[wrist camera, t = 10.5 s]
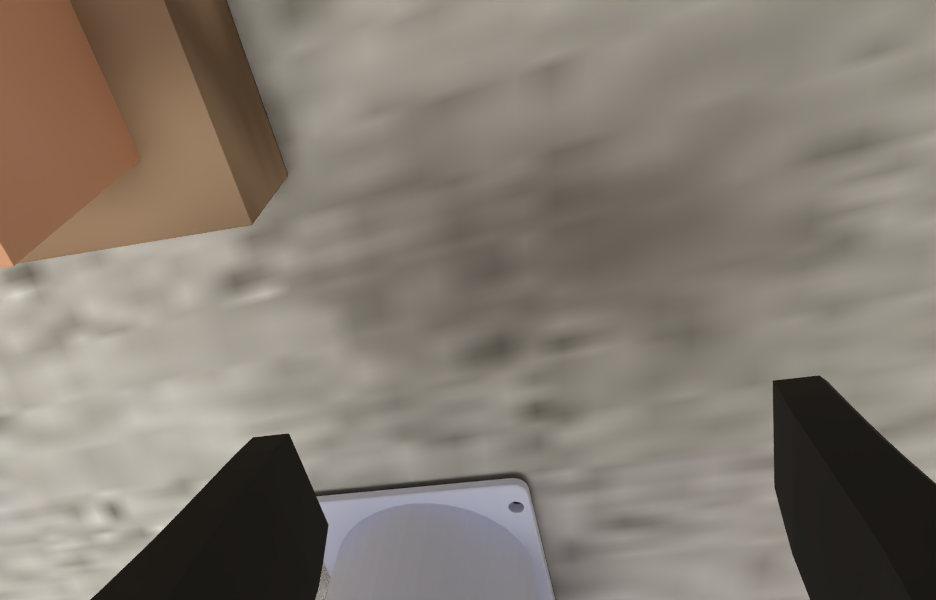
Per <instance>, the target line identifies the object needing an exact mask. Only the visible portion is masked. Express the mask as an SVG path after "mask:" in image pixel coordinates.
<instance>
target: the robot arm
mask: <svg viewBox="0 0 936 600" xmlns="http://www.w3.org/2000/svg"><path fill="white" fill-rule="evenodd" d="M773 419H774V482H775V491H776V494H777V498H778V502H779V506H780V510H781V514H782V517H783V521H784V525H785V529H786V532H787V536H788V539H789V543H790V547H791V550H792V554H793V557H794V559H795V562H796V564H797V567H798V570H799V572H800V575H801V577H802V580H803V582H804V585H805V587H806V590H807V592H808V595H809V597H810V600H936V483H934V482H933V481H932V480H931V479H930V478H929V477H928V476H926V475H925V474H924V473H923V472H922V471H921V470H920V469H918V468H917V467H916V466H915V465H914V464H913V463H912V462H910V461H909V460H908V459H907V458H906V457H905V456H904V455H903V454H901V453H900V452H899V451H898V450H897V449H896V448H895V447H894V446H893V445H892V444H891V443H889V442H888V441H887V440H886V439H885V438H884V437H883V436H882V435H881V434H880V433H879V432H878V431H877V430H876V429H875V428H874V427H873V426H872V425H870V424H869V423H868V422H867V421H866V420H865V419H864V418H863V417H862V416H861V415H860V414H859V413H858V412H857V411H856V410H855V409H854V408H853V407H852V406H851V405H850V404H849V403H848V402H847V401H846V400H845V399H844V398H843V397H842V396H841V395H840V394H839V393H838V392H837V391H836V390H835V389H834V388H833V387H832V386H831V385H830V384H829V383H828V382H827V381H826V380H825V379H823V378H822V377H821V376H812V377H803V378H794V379H784V380H775V381H773ZM512 502H520V504H513V503H512ZM323 562H324V565H325V567H326V569H327V571H328V573H329V576H330V578H331V580H330V584H329V587H328V591H327V594H326V598H325V600H555V596H554V592H553V588H552V584H551V580H550V575H549V571H548V567H547V563H546V559H545V554H544V550H543V546H542V542H541V537H540V533H539V529H538V525H537V521H536V516H535V512H534V508H533V504H532V500H531V495H530V491H529V487H528V485H527V484H526V483H525V482H524V481H523V480H520V479H517V478H507V479H496V480H486V481H475V482H464V483H454V484H443V485H433V486H422V487H411V488H401V489H390V490H379V491H369V492H358V493H348V494H337V495H326V496H316V495H315V492H314V490H313V488H312V485H311V483H310V481H309V479H308V476H307V474H306V472H305V469H304V467H303V465H302V462H301V460H300V458H299V456H298V453H297V451H296V449H295V446H294V444H293V442H292V439H291V437H290V435H289V434H280V435H271V436H262V437H253V438H252V439H251V440H250V441H249V442H248V443H247V444H246V445H245V446H243V447H242V448H241V449H240V450H239V451H238V452H237V453H236V454H235V455H234V456H233V457H232V458H231V460H230V461H229V462H228V463H227V464H226V465H225V466H224V467H223V468H222V469H221V470H220V471H219V472H218V473H217V474H216V475H215V476H214V477H213V478H212V479H211V480H210V481H209V482H208V484H207V485H206V486H205V487H204V488H203V489H202V490H201V491H200V492H199V493H198V494H197V495H196V496H195V497H194V498H193V499H192V500H191V501H190V502H189V503H188V504H187V505H186V506H185V508H184V509H183V510H182V511H181V512H180V513H179V514H178V515H177V516H176V517H175V518H174V519H173V520H172V521H171V522H170V523H169V524H168V525H167V526H166V527H165V528H164V529H163V530H162V531H161V532H160V533H159V534H158V535H157V536H156V537H155V538H154V539H153V540H152V541H151V542H150V543H149V544H148V545H147V546H146V547H145V548H144V549H143V550H142V551H141V552H140V553H139V554H138V555H137V556H136V557H135V558H134V559H133V560H132V561H131V562H130V563H129V564H128V565H126V566H125V567H124V568H123V569H122V570H121V571H120V572H119V573H118V574H117V575H116V576H115V577H114V578H113V579H112V580H111V581H110V582H109V583H108V584H107V585H106V586H105V587H104V588H103V589H101V590H100V591H99V592H98V593H97V594H96V595H95V596H94V597H93V598H92V599H91V600H315V598H316V594H317V591H318V587H319V582H320V576H321V571H322V565H323Z"/></svg>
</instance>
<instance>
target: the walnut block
mask: <svg viewBox="0 0 936 600" xmlns="http://www.w3.org/2000/svg"><path fill="white" fill-rule="evenodd" d="M70 2H71V4H72V7H73V9H74V11H75V13H76V16H77V18H78V20H79V22H80V24H81V27H82V29H83V31H84V33H85V36H86V38H87V40H88V42H89V45H90V47H91V49H92V51H93V53H94V56H95V58H96V60H97V62H98V65H99V67H100V69H101V71H102V74H103V76H104V78H105V80H106V82H107V85H108V87H109V89H110V91H111V94H112V96H113V98H114V100H115V103H116V105H117V107H118V109H119V111H120V114H121V116H122V118H123V120H124V123H125V125H126V127H127V129H128V131H129V134H130V136H131V138H132V140H133V143H134V145H135V147H136V149H137V152H138V154H139V156H140V158H141V160H139V161H138V162H137V163H136V164H135V165H133V166H132V167H131V168H130V169H129V170H128V171H126V172H125V173H124V174H123V175H122V176H120V177H119V178H118V179H117V180H116V181H114V182H113V183H112V184H111V185H110V186H108V187H107V188H106V189H105V190H104V191H103V192H101V193H100V194H99V195H98V196H97V197H95V198H94V199H93V200H92V201H91V202H89V203H88V204H87V205H86V206H85V207H83V208H82V209H81V210H80V211H79V212H77V213H76V214H75V215H74V216H73V217H72V218H70V219H69V220H68V221H67V222H66V223H64V224H63V225H62V226H61V227H60V228H58V229H57V230H56V231H55V232H54V233H52V234H51V235H50V236H49V237H48V238H46V239H45V240H44V241H43V242H42V243H41V244H39V245H38V246H37V247H36V248H35V249H33V250H32V251H31V252H30V253H29V254H27V255H26V256H25V257H24V258H23V259H21V260H20V261H19V262H18V263H24V262H30V261H36V260H42V259H48V258H54V257H60V256H66V255H72V254H79V253H85V252H91V251H97V250H103V249H109V248H115V247H121V246H127V245H133V244H139V243H145V242H151V241H157V240H163V239H169V238H176V237H182V236H188V235H194V234H200V233H206V232H212V231H218V230H224V229H230V228H236V227H242V226H248V225H252V224H253V223H254V221H255V220H256V219H257V217H258V216H259V215H260V213H261V212H262V210H263V209H264V208H265V206H266V205H267V204H268V202H269V201H270V199H271V198H272V197H273V195H274V194H275V193H276V191H277V190H278V188H279V187H280V186H281V184H282V183H283V182H284V180H285V179H286V177H287V176H288V175H287V172H286V169H285V166H284V163H283V161H282V158H281V155H280V152H279V149H278V146H277V144H276V141H275V138H274V135H273V132H272V129H271V127H270V124H269V121H268V118H267V115H266V113H265V110H264V107H263V104H262V101H261V98H260V96H259V93H258V90H257V87H256V84H255V81H254V79H253V76H252V73H251V70H250V67H249V64H248V62H247V59H246V56H245V53H244V50H243V48H242V45H241V42H240V39H239V36H238V33H237V31H236V28H235V25H234V22H233V19H232V16H231V14H230V11H229V8H228V5H227V2H226V0H70ZM18 263H17V264H18Z"/></svg>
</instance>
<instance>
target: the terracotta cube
mask: <svg viewBox="0 0 936 600" xmlns="http://www.w3.org/2000/svg"><path fill="white" fill-rule="evenodd" d="M139 160H141V158H140V156H139V154H138V152H137V149H136V147H135V145H134V143H133V140H132V138H131V136H130V134H129V131H128V129H127V127H126V125H125V123H124V120H123V118H122V116H121V114H120V111H119V109H118V107H117V105H116V103H115V100H114V98H113V96H112V94H111V91H110V89H109V87H108V85H107V82H106V80H105V78H104V76H103V74H102V71H101V69H100V67H99V65H98V62H97V60H96V58H95V56H94V53H93V51H92V49H91V47H90V45H89V42H88V40H87V38H86V36H85V33H84V31H83V29H82V27H81V24H80V22H79V20H78V18H77V16H76V13H75V11H74V9H73V7H72V4H71V2H70V0H0V268H4V267H11V266H14V265H16V264H17V263H18V262H19V261H20V260H21V259H23V258H24V257H25V256H26V255H27V254H29V253H30V252H31V251H32V250H33V249H35V248H36V247H37V246H38V245H39V244H41V243H42V242H43V241H44V240H45V239H46V238H48V237H49V236H50V235H51V234H52V233H54V232H55V231H56V230H57V229H58V228H60V227H61V226H62V225H63V224H64V223H66V222H67V221H68V220H69V219H70V218H72V217H73V216H74V215H75V214H76V213H77V212H79V211H80V210H81V209H82V208H83V207H85V206H86V205H87V204H88V203H89V202H91V201H92V200H93V199H94V198H95V197H97V196H98V195H99V194H100V193H101V192H103V191H104V190H105V189H106V188H107V187H108V186H110V185H111V184H112V183H113V182H114V181H116V180H117V179H118V178H119V177H120V176H122V175H123V174H124V173H125V172H126V171H128V170H129V169H130V168H131V167H132V166H133V165H135V164H136V163H137V162H138V161H139Z"/></svg>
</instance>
